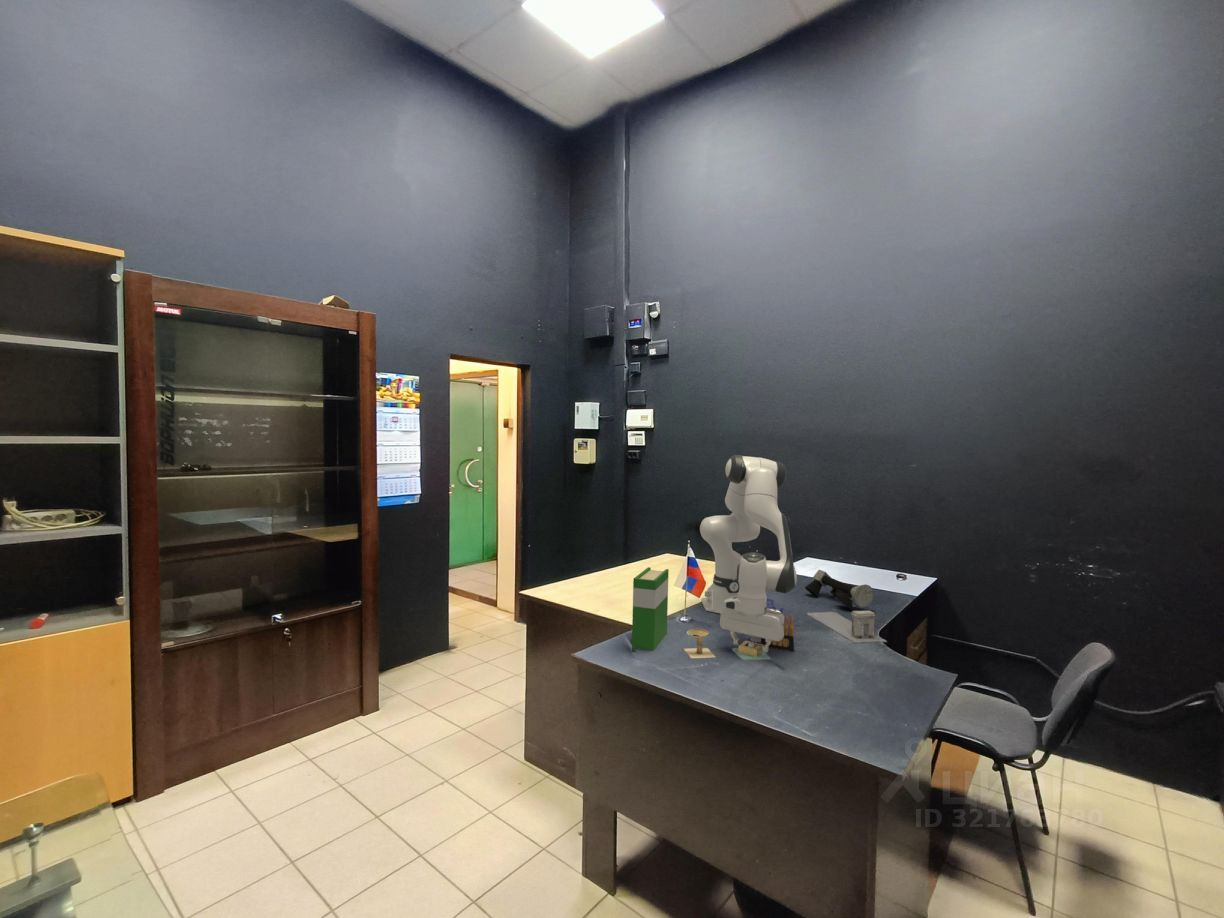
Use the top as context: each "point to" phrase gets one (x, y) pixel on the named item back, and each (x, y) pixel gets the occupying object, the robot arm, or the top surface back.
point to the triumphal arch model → (850, 625)
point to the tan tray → (750, 649)
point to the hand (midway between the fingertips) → (750, 648)
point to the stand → (699, 650)
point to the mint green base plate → (745, 657)
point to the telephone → (841, 590)
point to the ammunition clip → (787, 636)
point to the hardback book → (649, 609)
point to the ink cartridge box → (770, 606)
